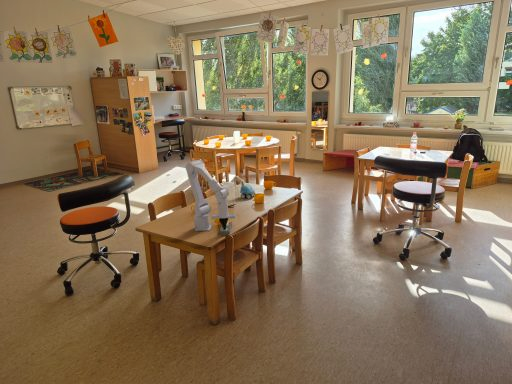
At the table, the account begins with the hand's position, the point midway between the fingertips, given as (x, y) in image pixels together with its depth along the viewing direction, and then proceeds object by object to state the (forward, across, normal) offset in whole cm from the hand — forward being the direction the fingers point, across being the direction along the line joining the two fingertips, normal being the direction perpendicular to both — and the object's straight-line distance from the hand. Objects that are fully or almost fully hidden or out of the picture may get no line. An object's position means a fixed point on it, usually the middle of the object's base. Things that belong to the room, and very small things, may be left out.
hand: (224, 229), depth 212 cm
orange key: (+2, +1, -11) cm, 11 cm away
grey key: (+1, 0, -5) cm, 6 cm away
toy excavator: (+3, -3, -72) cm, 72 cm away
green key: (+2, 0, 0) cm, 2 cm away
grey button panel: (+3, 0, -6) cm, 6 cm away
